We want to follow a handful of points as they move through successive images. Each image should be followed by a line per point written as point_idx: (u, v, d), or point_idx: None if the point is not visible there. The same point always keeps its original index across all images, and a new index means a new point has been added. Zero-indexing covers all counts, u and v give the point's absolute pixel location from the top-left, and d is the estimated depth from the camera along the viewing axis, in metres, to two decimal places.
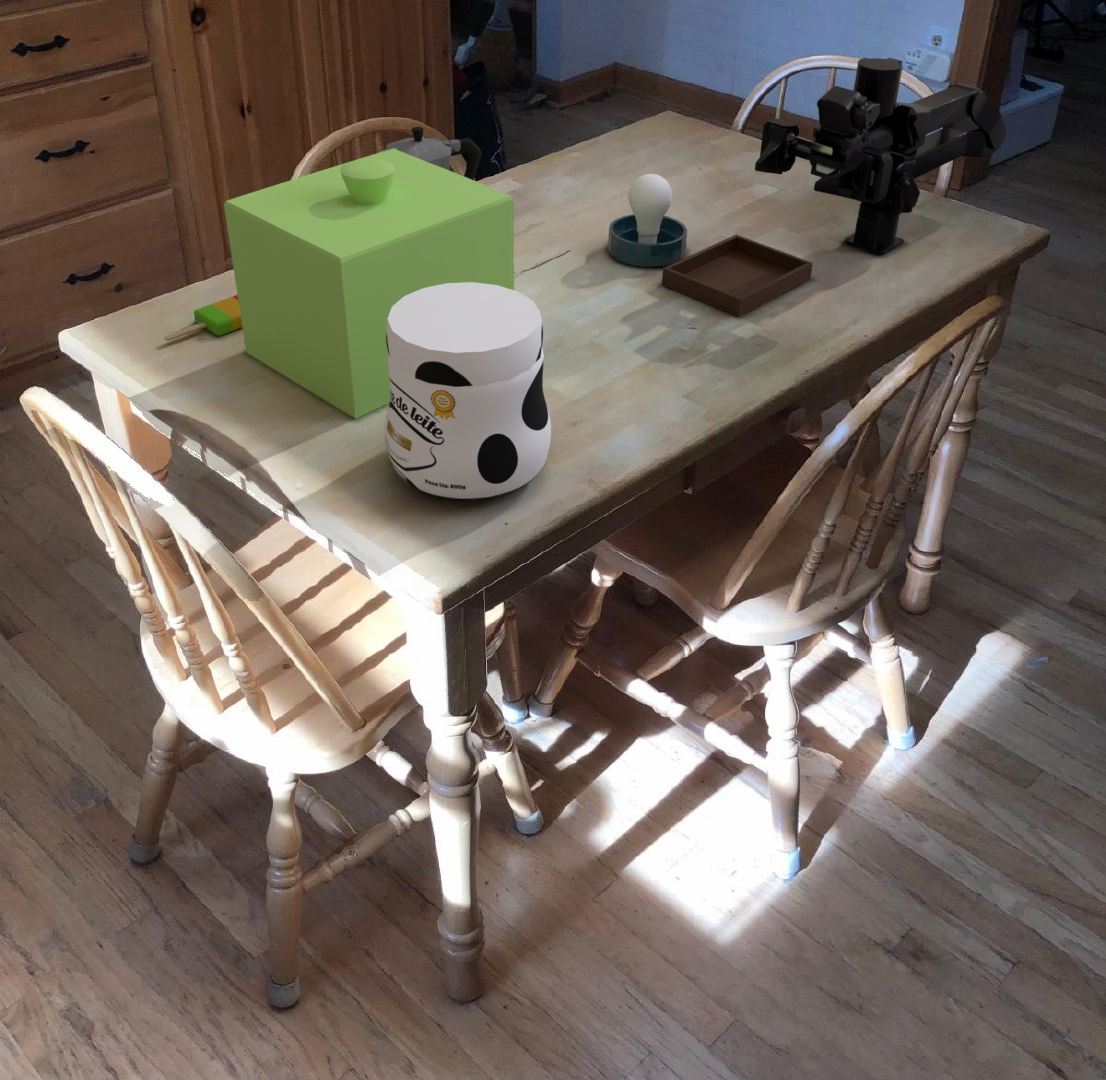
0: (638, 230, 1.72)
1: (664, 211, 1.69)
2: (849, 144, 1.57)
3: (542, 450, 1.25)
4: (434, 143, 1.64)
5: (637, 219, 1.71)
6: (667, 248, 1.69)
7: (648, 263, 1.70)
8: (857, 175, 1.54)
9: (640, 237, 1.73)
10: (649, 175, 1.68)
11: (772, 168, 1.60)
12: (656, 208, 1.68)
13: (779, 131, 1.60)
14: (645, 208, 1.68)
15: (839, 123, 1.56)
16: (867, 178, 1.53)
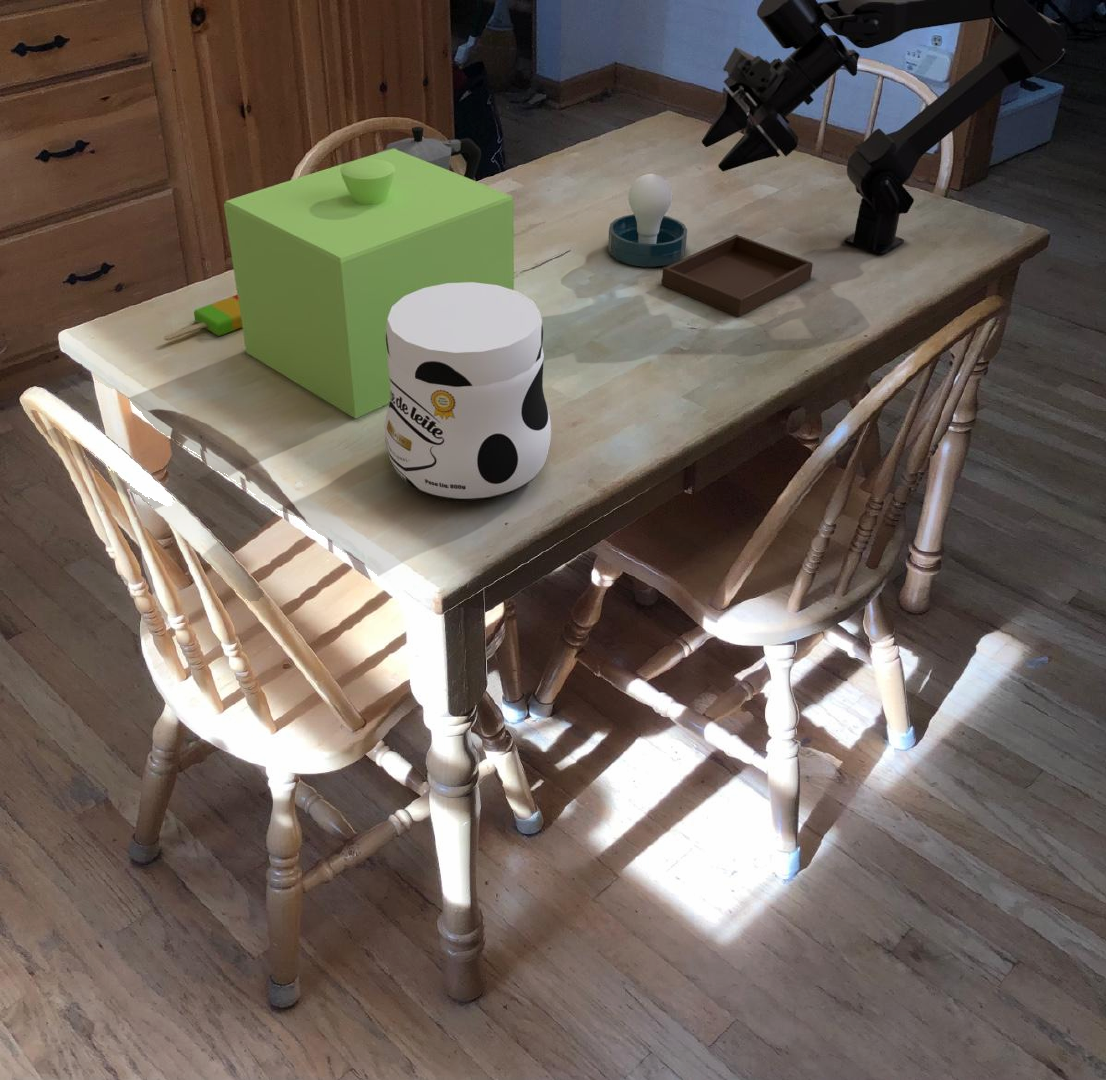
0: (638, 230, 1.72)
1: (664, 211, 1.69)
2: (761, 100, 1.61)
3: (542, 450, 1.25)
4: (434, 143, 1.64)
5: (637, 219, 1.71)
6: (667, 248, 1.69)
7: (648, 263, 1.70)
8: None
9: (640, 237, 1.73)
10: (649, 175, 1.68)
11: (729, 131, 1.70)
12: (656, 208, 1.68)
13: (725, 94, 1.68)
14: (645, 208, 1.68)
15: None
16: (763, 141, 1.59)
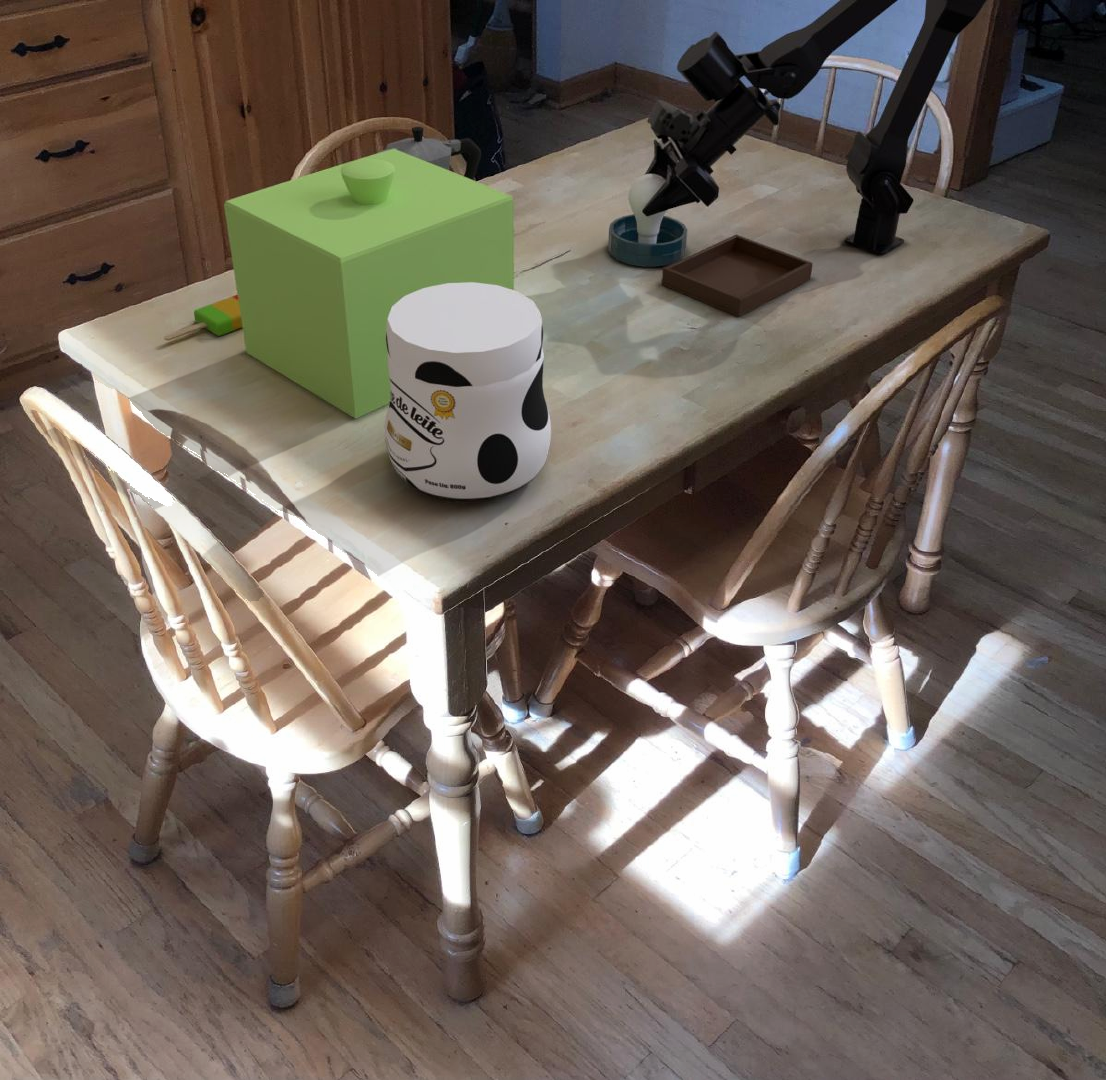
0: (638, 230, 1.72)
1: (664, 211, 1.69)
2: (683, 151, 1.64)
3: (542, 450, 1.25)
4: (434, 143, 1.64)
5: (637, 219, 1.71)
6: (667, 248, 1.69)
7: (648, 263, 1.70)
8: None
9: (640, 237, 1.73)
10: (649, 175, 1.68)
11: None
12: None
13: (655, 146, 1.71)
14: None
15: None
16: (683, 188, 1.63)
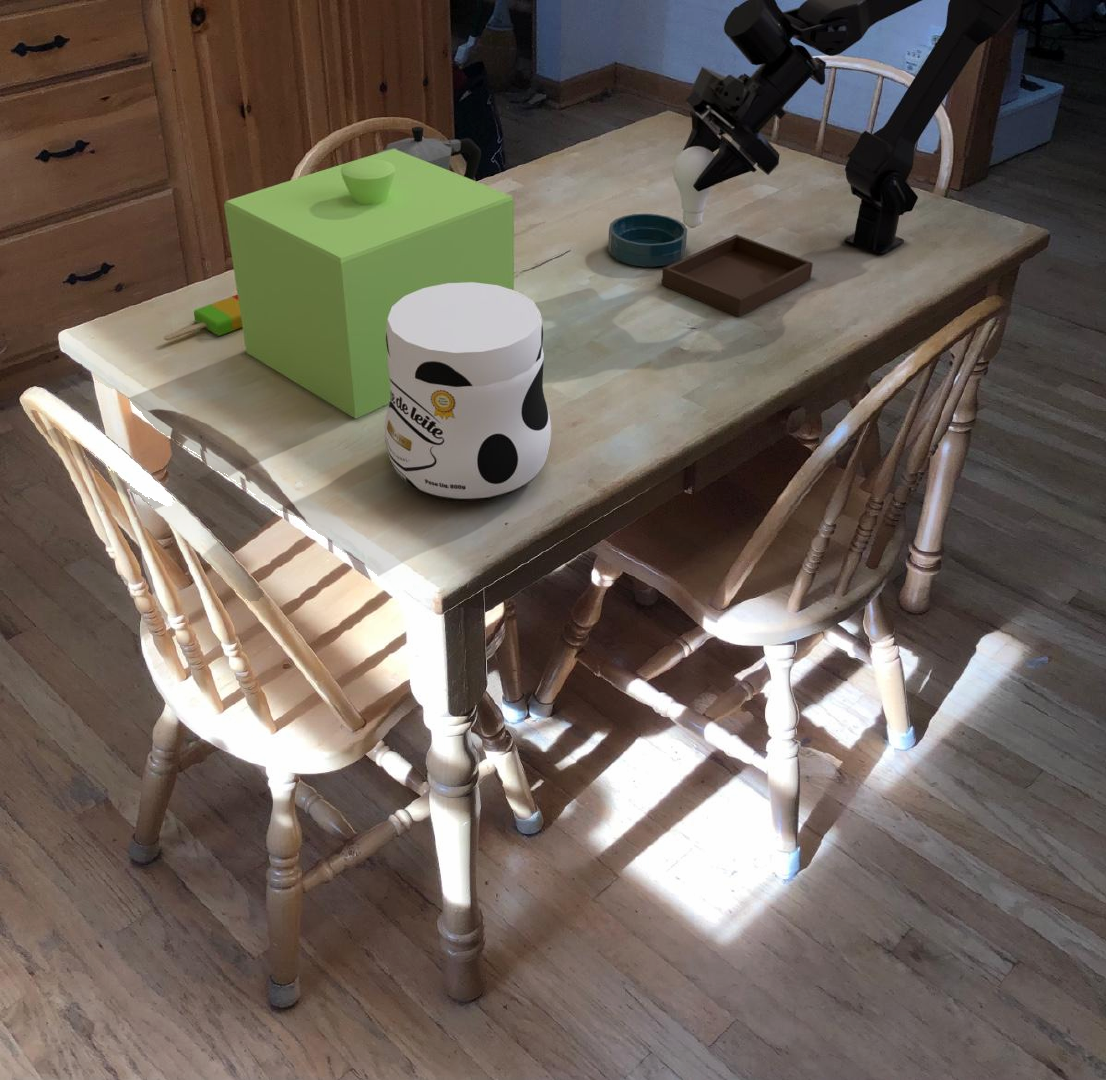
0: (684, 207, 1.63)
1: None
2: (734, 118, 1.56)
3: (542, 450, 1.25)
4: (434, 143, 1.64)
5: (684, 195, 1.62)
6: (667, 248, 1.69)
7: (648, 263, 1.70)
8: (735, 154, 1.56)
9: (686, 214, 1.64)
10: (695, 148, 1.59)
11: None
12: None
13: (694, 117, 1.62)
14: None
15: None
16: (740, 158, 1.55)
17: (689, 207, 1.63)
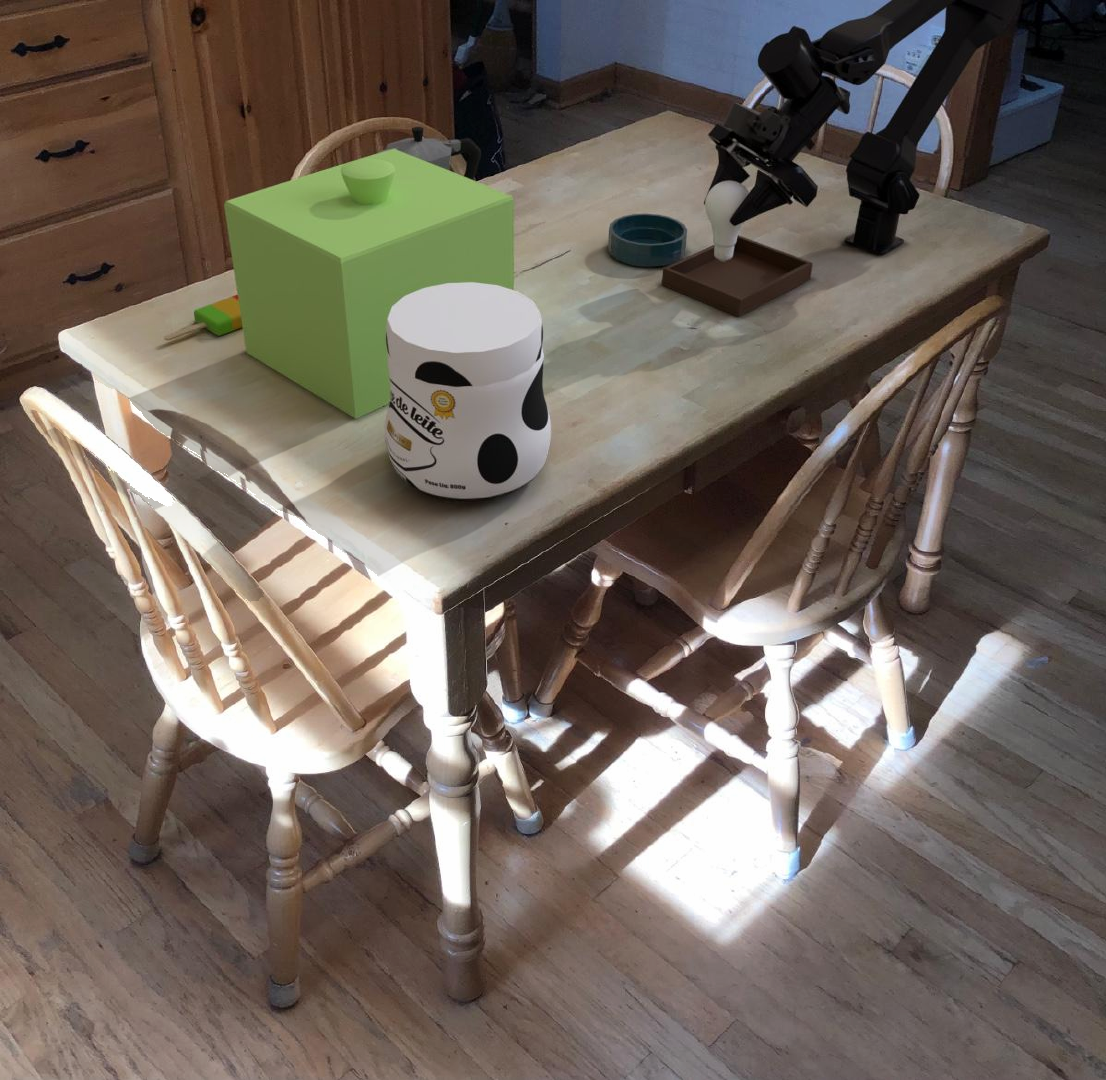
0: (717, 241, 1.63)
1: None
2: (769, 152, 1.55)
3: (542, 450, 1.25)
4: (434, 143, 1.64)
5: (717, 230, 1.61)
6: (667, 248, 1.69)
7: (648, 263, 1.70)
8: (772, 188, 1.56)
9: (719, 248, 1.63)
10: (728, 182, 1.59)
11: None
12: None
13: (721, 151, 1.61)
14: None
15: None
16: (778, 192, 1.55)
17: (722, 241, 1.62)
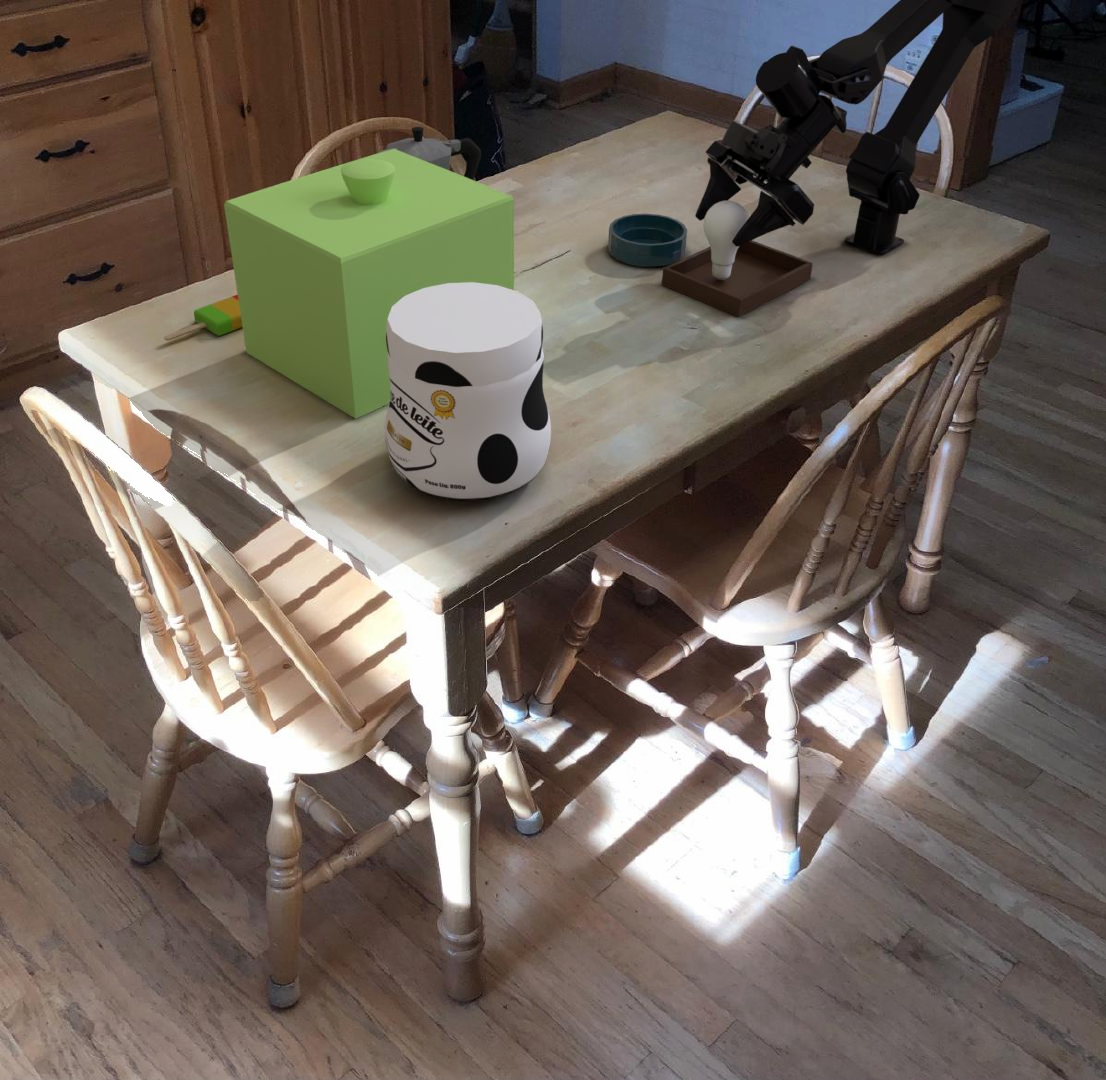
0: (715, 260, 1.64)
1: None
2: (766, 170, 1.57)
3: (542, 450, 1.25)
4: (434, 143, 1.64)
5: (715, 249, 1.63)
6: (667, 248, 1.69)
7: (648, 263, 1.70)
8: (775, 209, 1.56)
9: (717, 267, 1.65)
10: (726, 202, 1.60)
11: None
12: None
13: (713, 165, 1.63)
14: (729, 236, 1.60)
15: None
16: (781, 213, 1.55)
17: (720, 260, 1.64)
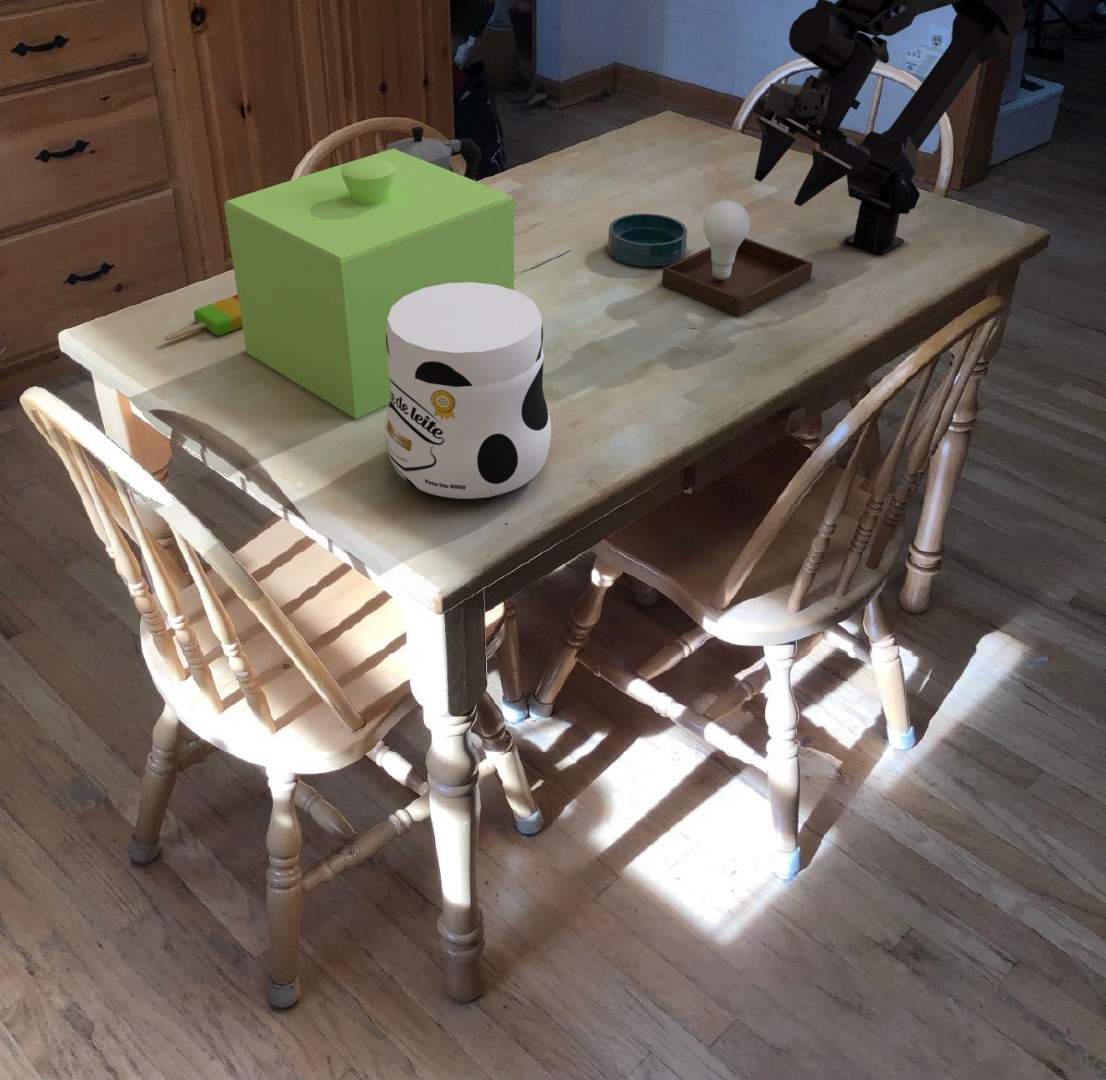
0: (715, 260, 1.64)
1: (744, 237, 1.62)
2: (815, 125, 1.56)
3: (542, 450, 1.25)
4: (434, 143, 1.64)
5: (715, 249, 1.63)
6: (667, 248, 1.69)
7: (648, 263, 1.70)
8: None
9: (717, 267, 1.65)
10: (726, 202, 1.60)
11: (777, 157, 1.66)
12: (739, 235, 1.60)
13: (762, 124, 1.63)
14: (729, 237, 1.60)
15: None
16: (837, 167, 1.55)
17: (720, 260, 1.64)
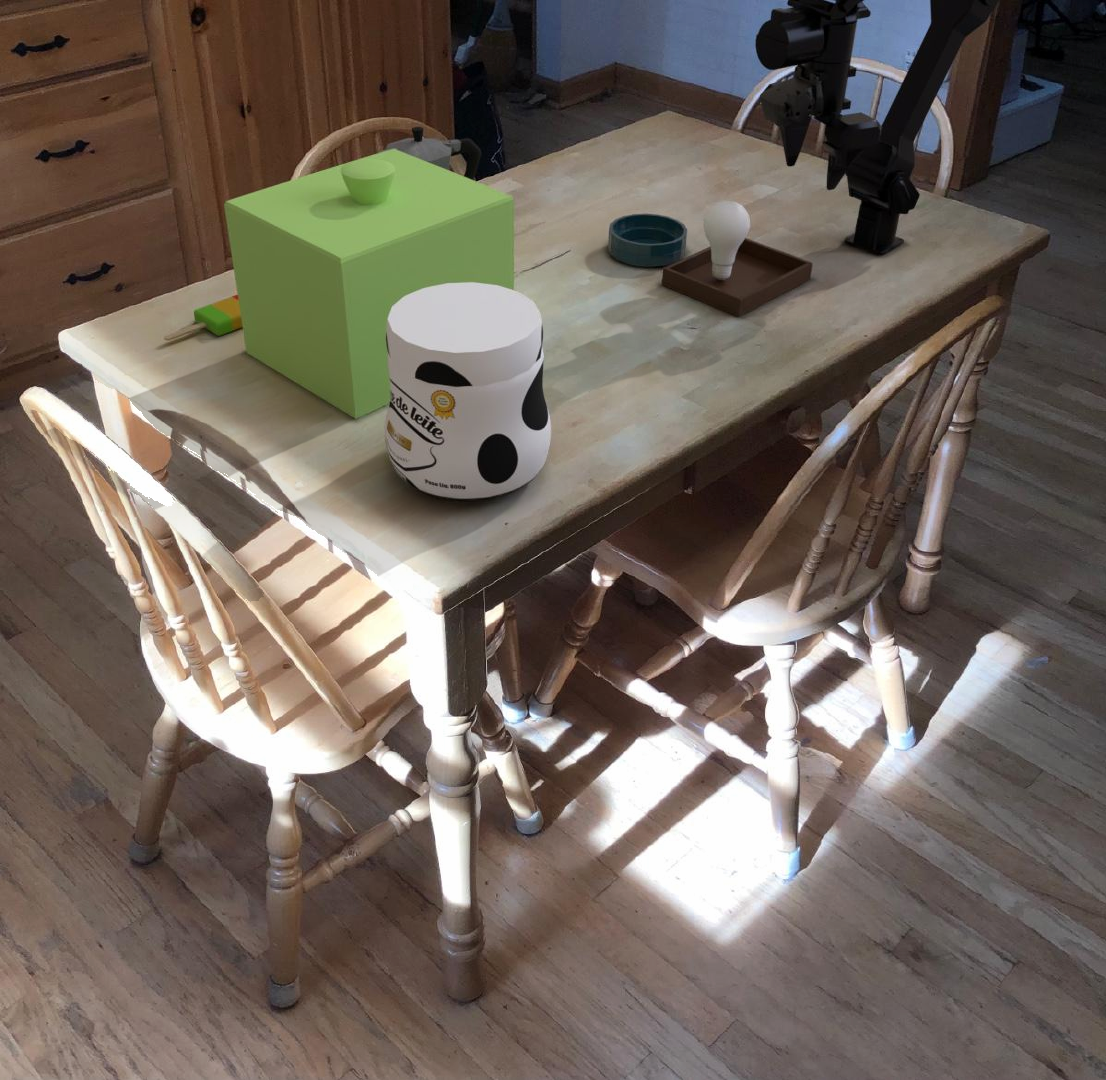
0: (715, 260, 1.64)
1: (744, 238, 1.62)
2: (817, 115, 1.55)
3: (542, 450, 1.25)
4: (434, 143, 1.64)
5: (715, 249, 1.63)
6: (667, 248, 1.69)
7: (648, 263, 1.70)
8: None
9: (717, 267, 1.65)
10: (727, 202, 1.60)
11: (801, 136, 1.65)
12: (740, 235, 1.60)
13: None
14: (730, 237, 1.60)
15: None
16: (852, 149, 1.54)
17: (720, 260, 1.64)
